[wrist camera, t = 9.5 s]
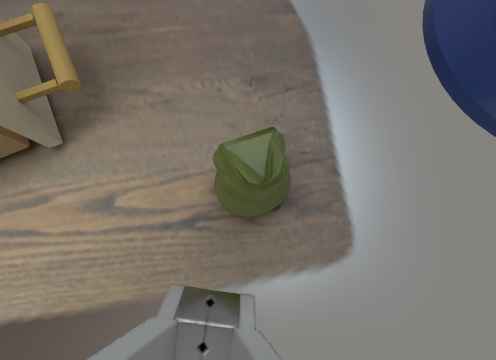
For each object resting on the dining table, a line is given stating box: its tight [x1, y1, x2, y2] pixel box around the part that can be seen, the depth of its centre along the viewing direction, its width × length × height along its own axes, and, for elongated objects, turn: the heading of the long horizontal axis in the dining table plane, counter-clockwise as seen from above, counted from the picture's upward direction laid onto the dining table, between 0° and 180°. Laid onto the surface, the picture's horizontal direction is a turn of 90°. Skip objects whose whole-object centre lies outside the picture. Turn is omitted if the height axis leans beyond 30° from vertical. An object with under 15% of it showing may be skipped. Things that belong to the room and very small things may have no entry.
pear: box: [213, 127, 290, 217], centre depth 20 cm, size 6×5×10 cm
